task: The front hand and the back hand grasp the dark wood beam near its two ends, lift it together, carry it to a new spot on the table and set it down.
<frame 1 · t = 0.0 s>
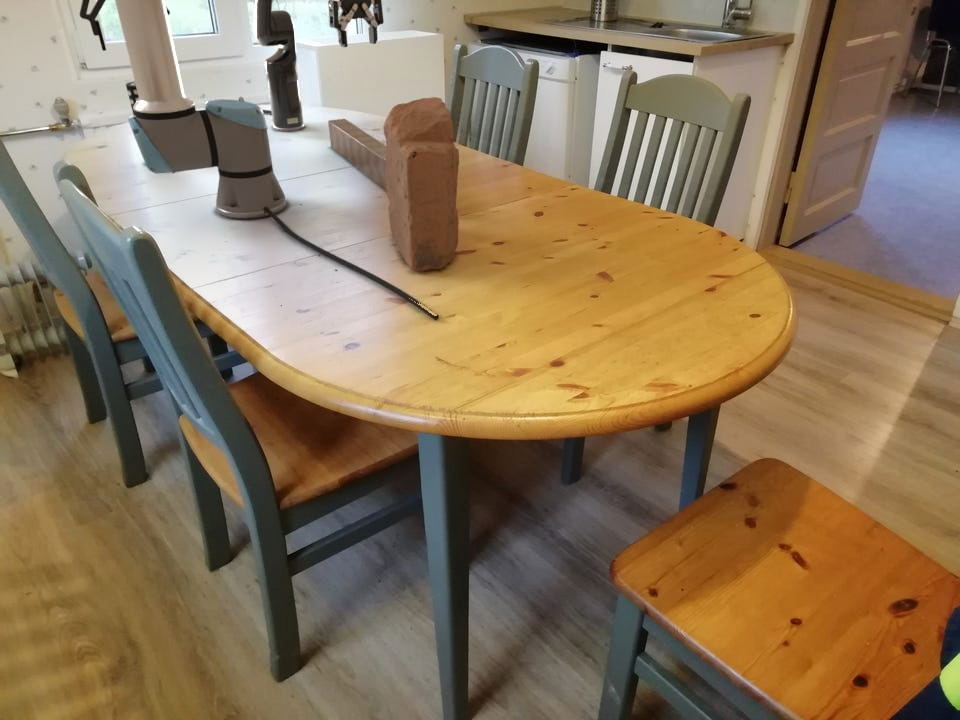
front hand: (133, 48, 174), 28 cm above the table, tool pointing down, fingers open, 13 cm apart
back hand: (358, 45, 174), 29 cm above the table, tool pointing down, fingers open, 8 cm apart
stone: (424, 250, 139), on the table
beam: (379, 176, 178), on the table
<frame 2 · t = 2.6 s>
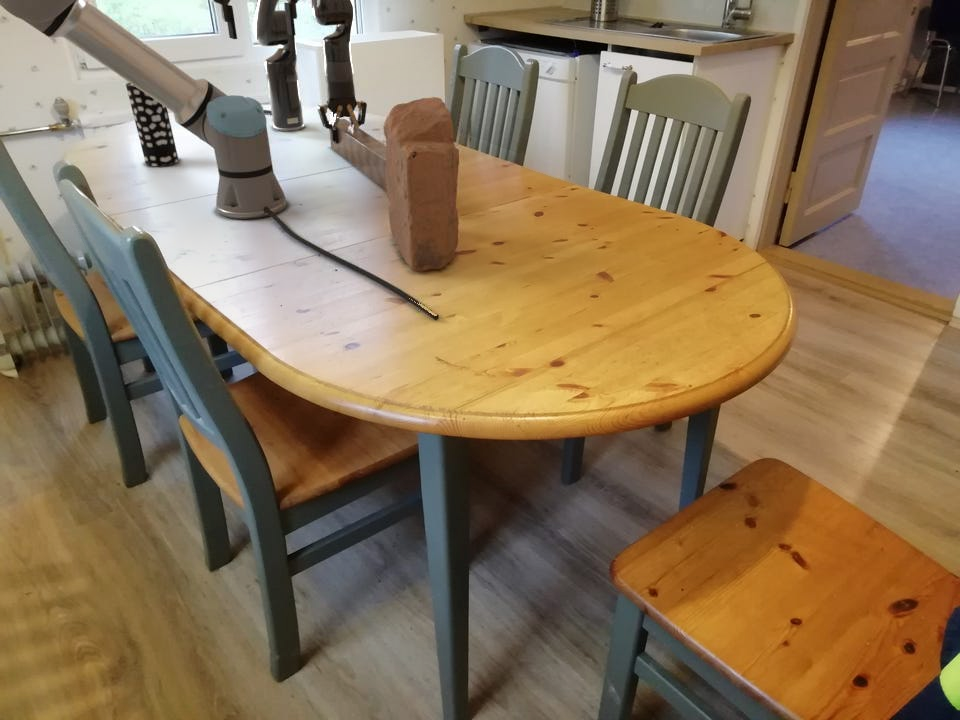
front hand: (263, 36, 156), 34 cm above the table, tool pointing down, fingers open, 13 cm apart
back hand: (345, 141, 195), 3 cm above the table, tool pointing down, fingers closed on beam, 5 cm apart
beam: (379, 176, 178), on the table, touching back hand
everything else where it was.
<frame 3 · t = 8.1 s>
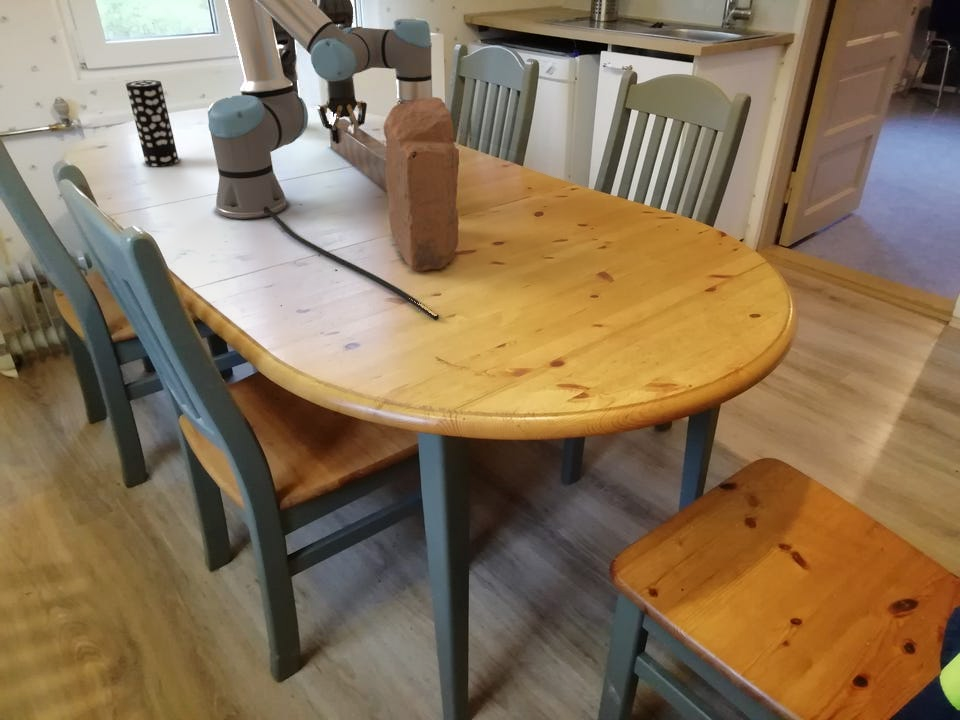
front hand: (418, 204, 160), 1 cm above the table, tool pointing down, fingers closed on beam, 5 cm apart
back hand: (345, 141, 195), 3 cm above the table, tool pointing down, fingers closed on beam, 5 cm apart
beam: (379, 176, 178), on the table, touching front hand, back hand
everything else where it was.
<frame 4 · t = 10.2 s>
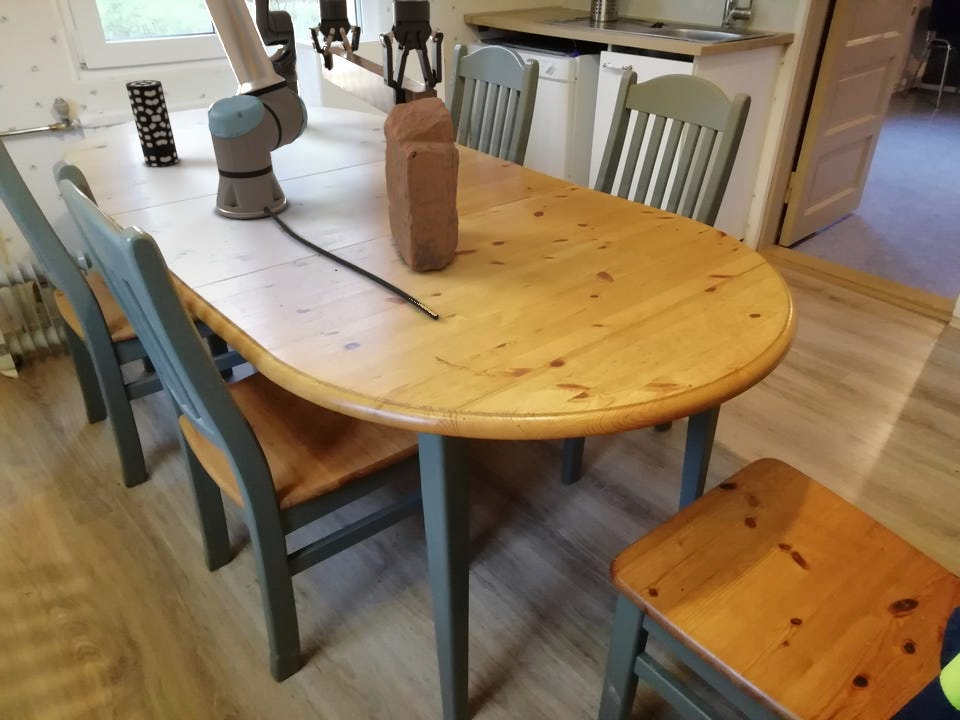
front hand: (414, 119, 149), 20 cm above the table, tool pointing down, fingers closed on beam, 5 cm apart
back hand: (338, 68, 184), 22 cm above the table, tool pointing down, fingers closed on beam, 5 cm apart
beam: (372, 99, 168), point 19 cm above the table, touching front hand, back hand
everything else where it was.
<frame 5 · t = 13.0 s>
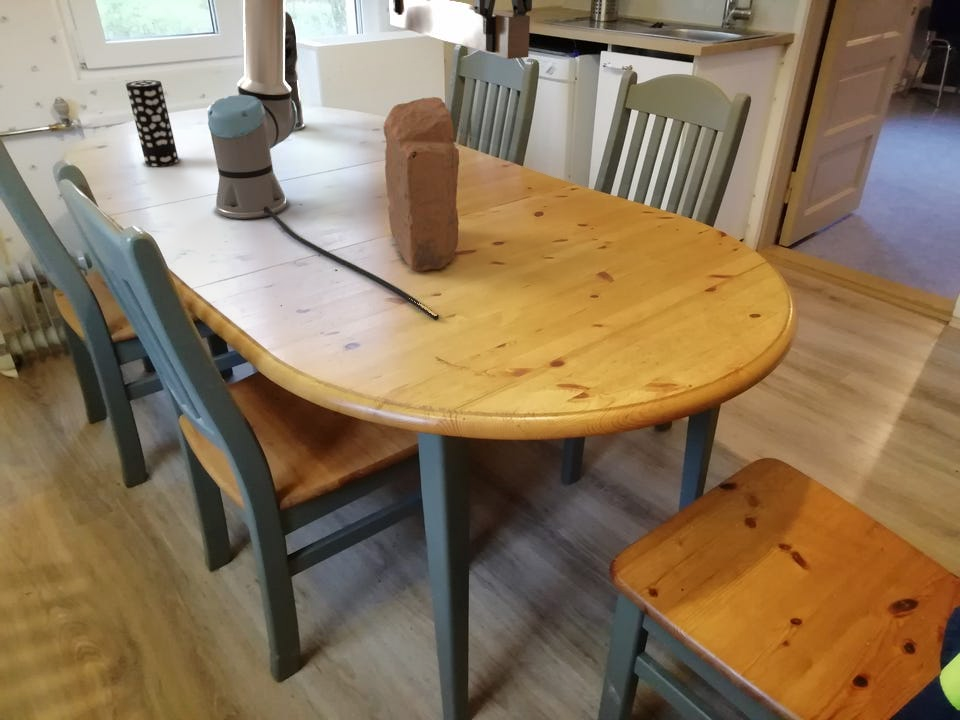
front hand: (502, 50, 145), 33 cm above the table, tool pointing down, fingers closed on beam, 5 cm apart
back hand: (407, 14, 181), 35 cm above the table, tool pointing down, fingers closed on beam, 5 cm apart
beam: (450, 38, 164), point 32 cm above the table, touching front hand, back hand
everything else where it was.
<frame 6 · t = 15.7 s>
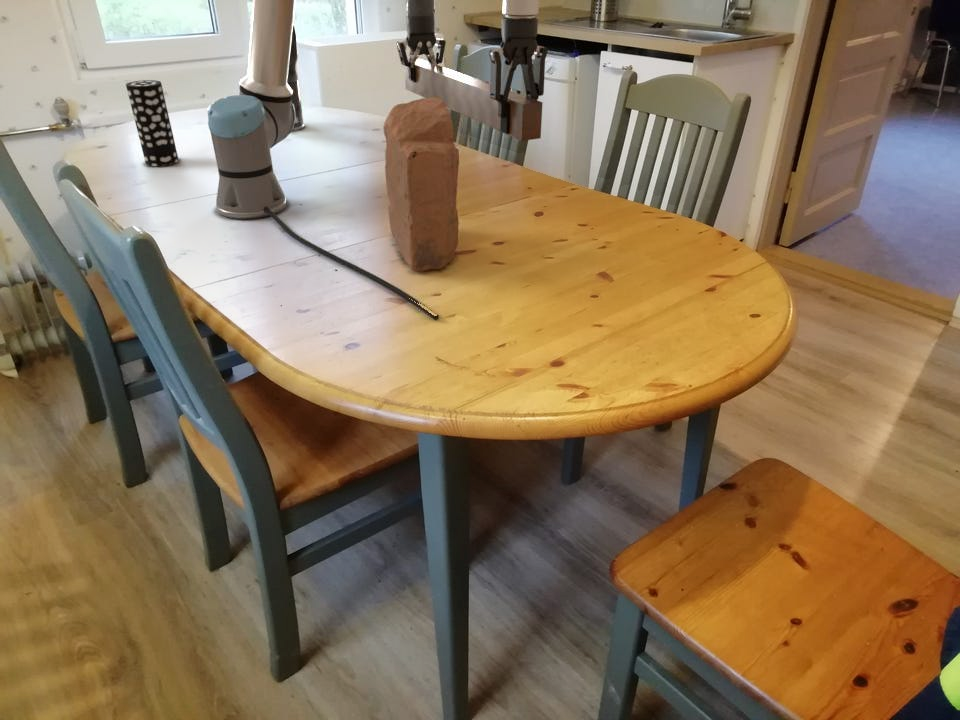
front hand: (515, 130, 155), 16 cm above the table, tool pointing down, fingers closed on beam, 5 cm apart
back hand: (422, 80, 191), 19 cm above the table, tool pointing down, fingers closed on beam, 5 cm apart
beam: (464, 110, 174), point 16 cm above the table, touching front hand, back hand
everything else where it was.
when the front hand's fingers open (2 cm above the table, at t = 17.9 s): beam drops 1 cm, on the table.
when the back hand's fingers open (4 cm above the table, at t = 18.1 s): beam stays where it is, on the table.
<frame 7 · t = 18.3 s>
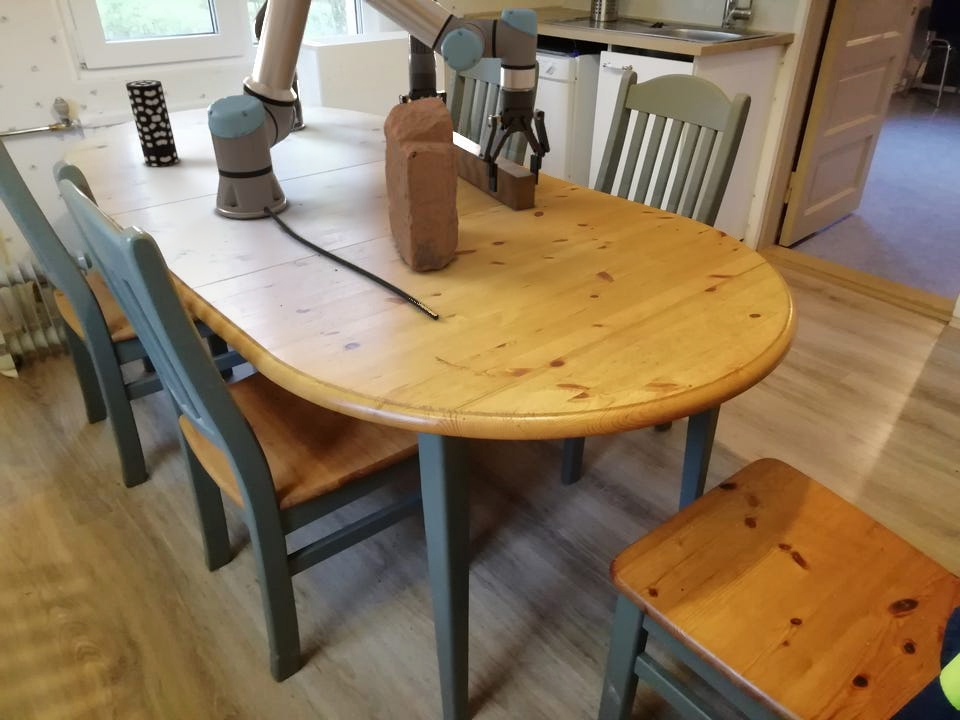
front hand: (513, 186, 162), 3 cm above the table, tool pointing down, fingers open, 10 cm apart
back hand: (424, 131, 198), 5 cm above the table, tool pointing down, fingers open, 6 cm apart
beam: (463, 171, 183), on the table
everything else where it was.
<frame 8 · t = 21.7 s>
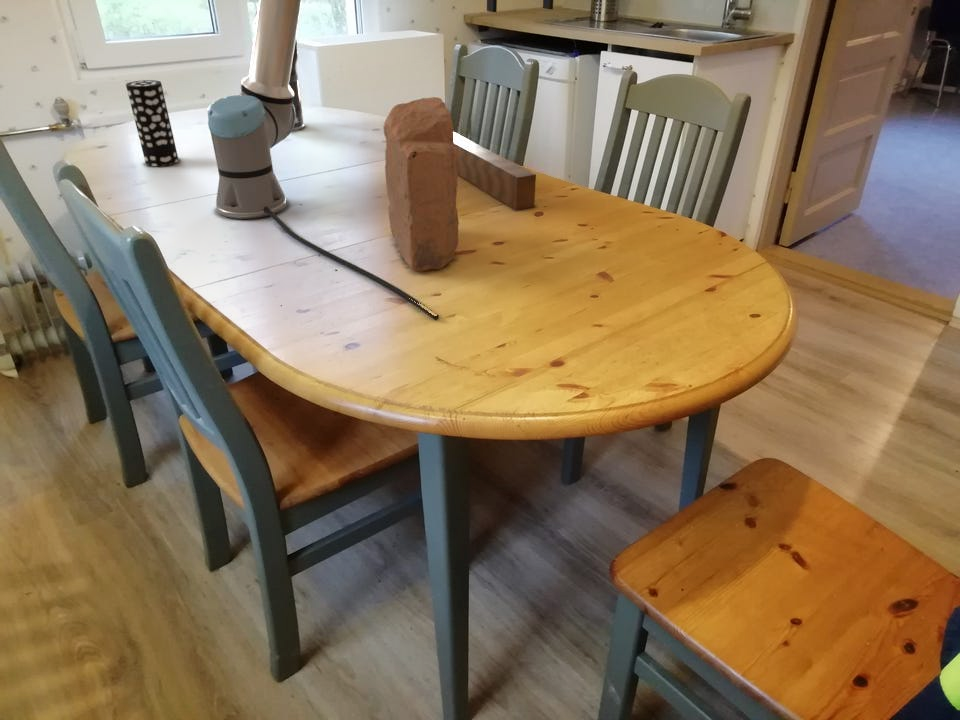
front hand: (520, 10, 142), 41 cm above the table, tool pointing down, fingers open, 13 cm apart
nothing on the table moved.
at the end: beam inside the target area (0.5 cm from its centre), on the table; beam tilted 0°; beam never tilted more than 2° during the clip; both hands held the beam at the same time; the front hand is holding nothing; the back hand is holding nothing; beam at rest at the end (0.0 cm/s) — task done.
